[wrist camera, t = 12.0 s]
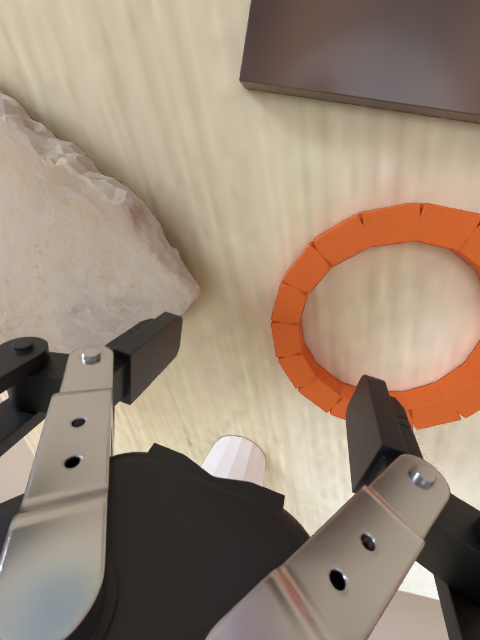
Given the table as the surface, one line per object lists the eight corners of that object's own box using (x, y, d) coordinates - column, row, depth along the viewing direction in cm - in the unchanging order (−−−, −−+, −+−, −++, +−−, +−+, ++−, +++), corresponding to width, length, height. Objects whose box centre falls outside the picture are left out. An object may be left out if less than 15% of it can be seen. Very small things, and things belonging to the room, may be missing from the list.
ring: (257, 374, 23) (252, 387, 22) (310, 181, 17) (308, 179, 15) (445, 438, 21) (456, 458, 19) (595, 239, 14) (631, 244, 12)
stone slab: (-7, 17, 19) (-71, 237, 27) (-178, -95, 12) (-199, 244, 20) (246, 263, 22) (121, 398, 29) (222, 285, 15) (66, 454, 22)
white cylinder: (199, 430, 28) (163, 494, 22) (263, 430, 26) (243, 503, 20) (218, 478, 30) (190, 550, 24) (278, 483, 28) (265, 564, 22)
